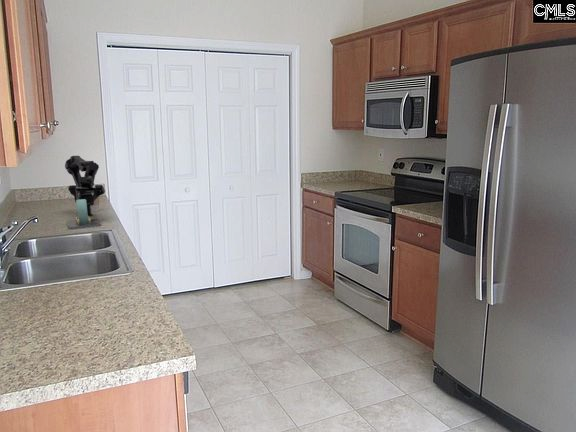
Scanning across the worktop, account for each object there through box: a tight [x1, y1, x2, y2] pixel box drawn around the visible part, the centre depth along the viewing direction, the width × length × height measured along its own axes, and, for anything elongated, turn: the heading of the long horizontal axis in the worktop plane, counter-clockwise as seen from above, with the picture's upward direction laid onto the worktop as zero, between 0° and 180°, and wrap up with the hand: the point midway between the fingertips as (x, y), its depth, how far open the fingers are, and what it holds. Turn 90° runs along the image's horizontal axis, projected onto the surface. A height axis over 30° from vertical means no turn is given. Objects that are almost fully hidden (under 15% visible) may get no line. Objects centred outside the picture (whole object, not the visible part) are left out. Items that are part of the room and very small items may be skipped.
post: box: [75, 199, 88, 224], centre depth 260 cm, size 5×5×13 cm
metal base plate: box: [66, 216, 102, 230], centre depth 261 cm, size 16×16×4 cm
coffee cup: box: [91, 191, 100, 213], centre depth 302 cm, size 9×9×15 cm
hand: (84, 201), depth 264 cm, fingers open, 9 cm apart
